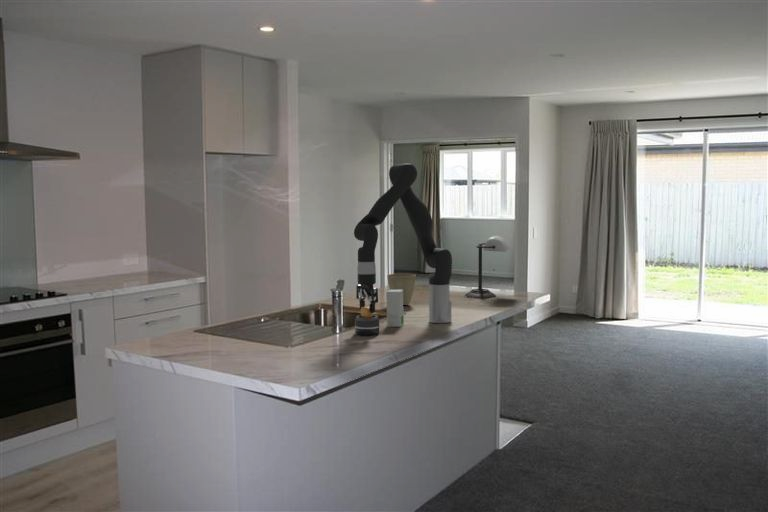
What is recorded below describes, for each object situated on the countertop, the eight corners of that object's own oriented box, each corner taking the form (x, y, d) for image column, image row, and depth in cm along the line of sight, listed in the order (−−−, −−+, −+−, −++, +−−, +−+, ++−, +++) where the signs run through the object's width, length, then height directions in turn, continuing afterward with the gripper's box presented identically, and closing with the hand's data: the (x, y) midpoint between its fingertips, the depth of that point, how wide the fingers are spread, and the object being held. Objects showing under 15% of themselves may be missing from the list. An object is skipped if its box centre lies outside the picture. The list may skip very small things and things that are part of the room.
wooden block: (369, 317, 276) (368, 306, 276) (375, 319, 271) (375, 307, 271) (358, 318, 273) (358, 307, 273) (365, 321, 269) (365, 308, 268)
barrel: (371, 330, 280) (371, 313, 279) (384, 334, 271) (383, 317, 270) (350, 332, 275) (350, 315, 274) (362, 337, 266) (362, 319, 265)
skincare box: (400, 327, 285) (400, 291, 284) (385, 326, 287) (385, 291, 285) (404, 323, 294) (403, 289, 292) (389, 323, 295) (389, 288, 294)
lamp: (505, 300, 356) (505, 237, 353) (460, 298, 363) (460, 237, 360) (509, 293, 381) (510, 235, 378) (468, 292, 388) (468, 234, 385)
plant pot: (421, 305, 342) (421, 275, 340) (398, 308, 333) (398, 277, 332) (404, 302, 354) (404, 272, 352) (382, 304, 346) (381, 274, 344)
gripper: (383, 273, 266) (383, 312, 268) (366, 270, 279) (366, 308, 280) (367, 274, 263) (367, 314, 264) (350, 271, 275) (351, 309, 276)
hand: (367, 311), depth 272 cm, fingers open, 8 cm apart
